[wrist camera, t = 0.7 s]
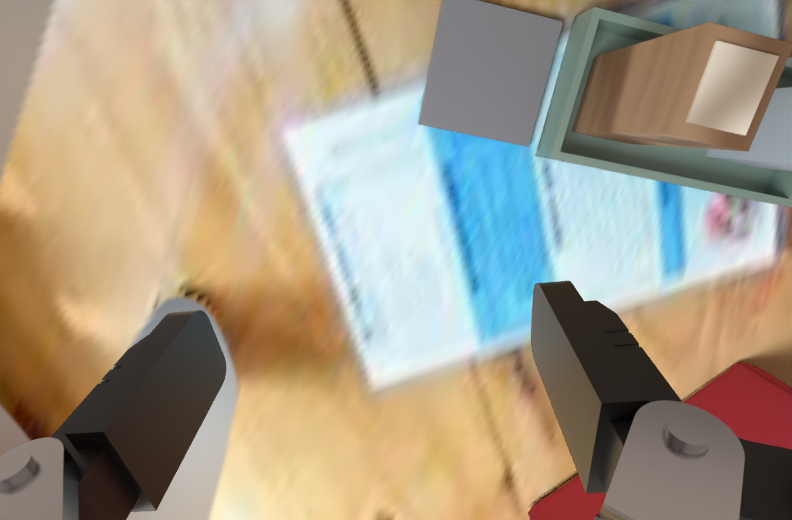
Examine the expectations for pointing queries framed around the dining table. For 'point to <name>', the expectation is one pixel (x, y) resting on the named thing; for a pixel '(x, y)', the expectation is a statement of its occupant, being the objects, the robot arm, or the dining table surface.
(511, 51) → the slate pad
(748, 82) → the label box
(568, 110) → the parts bin
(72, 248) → the dining table surface
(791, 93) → the plain box
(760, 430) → the storage cube
